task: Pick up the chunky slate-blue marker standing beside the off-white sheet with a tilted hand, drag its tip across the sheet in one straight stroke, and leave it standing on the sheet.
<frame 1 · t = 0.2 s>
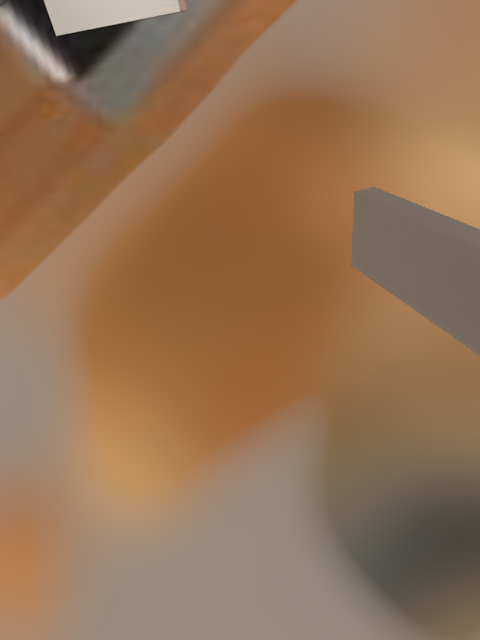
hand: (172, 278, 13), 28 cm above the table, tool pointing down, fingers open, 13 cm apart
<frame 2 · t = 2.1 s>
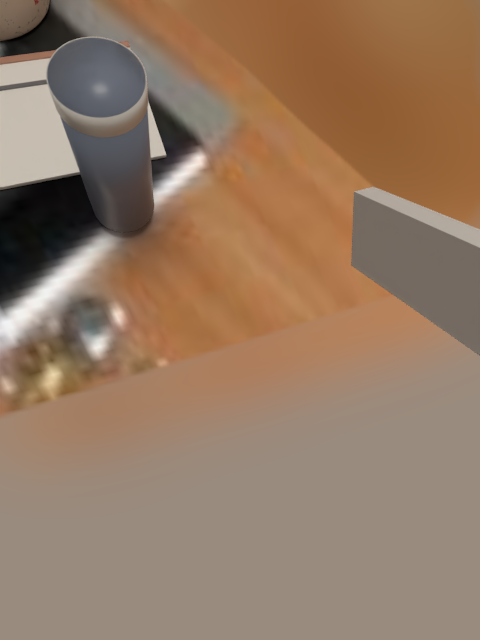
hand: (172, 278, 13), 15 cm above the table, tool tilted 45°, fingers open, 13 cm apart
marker: (125, 211, 29), on the table
sheet: (6, 122, 29), on the table
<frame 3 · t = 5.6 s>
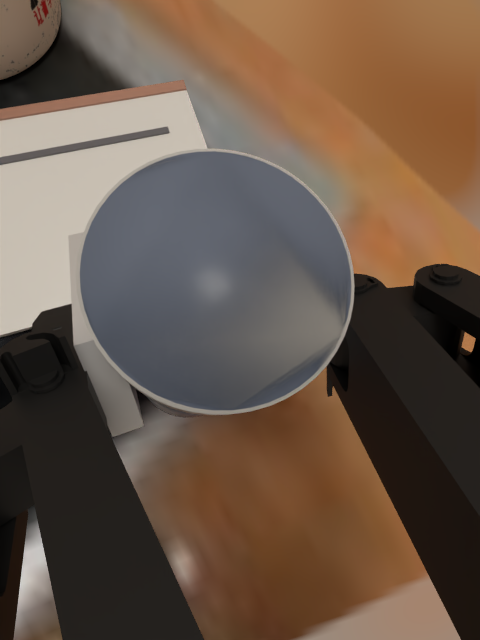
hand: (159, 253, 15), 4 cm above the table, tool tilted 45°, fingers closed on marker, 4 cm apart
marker: (187, 368, 18), on the table, touching gripper
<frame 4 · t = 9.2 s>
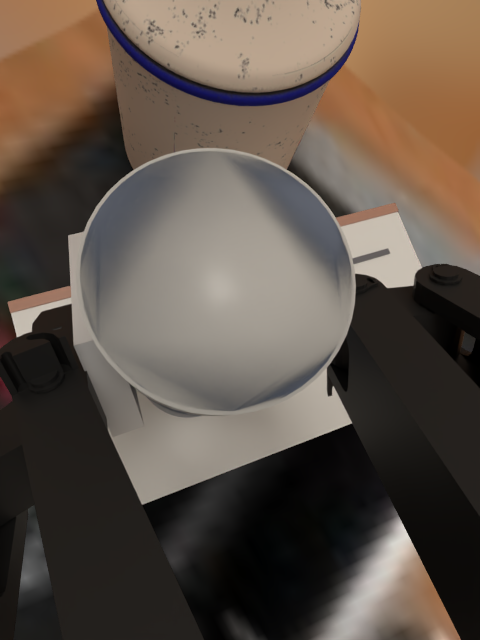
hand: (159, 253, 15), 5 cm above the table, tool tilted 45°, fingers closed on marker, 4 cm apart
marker: (188, 369, 18), point 2 cm above the table, touching gripper
teacup with lid: (196, 124, 23), on the table
sheet: (254, 343, 20), on the table
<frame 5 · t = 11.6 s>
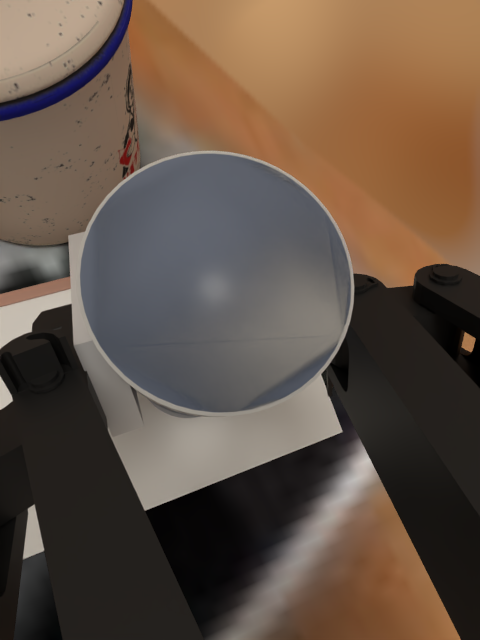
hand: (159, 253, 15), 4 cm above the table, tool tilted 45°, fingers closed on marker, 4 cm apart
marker: (187, 369, 18), resting on sheet, touching gripper
teacup with lid: (33, 137, 20), on the table
sheet: (80, 397, 17), on the table
when the fingers open (4 cm above the table, at t = 12.9 s): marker stays where it is, resting on sheet.
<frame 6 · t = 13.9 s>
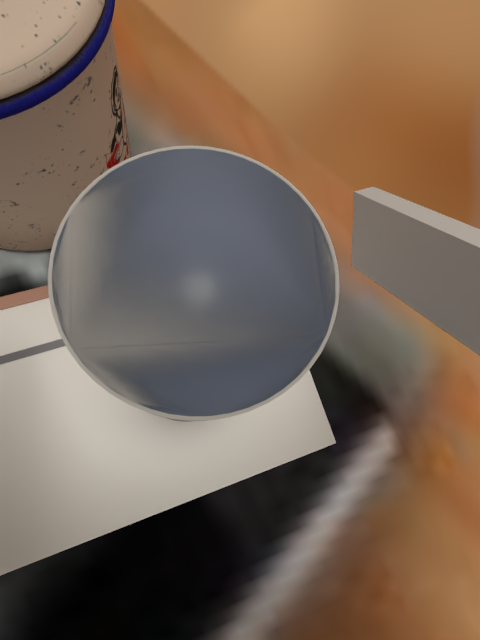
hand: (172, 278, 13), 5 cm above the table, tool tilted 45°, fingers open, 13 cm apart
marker: (186, 372, 17), resting on sheet
teacup with lid: (23, 141, 19), on the table
sheet: (67, 406, 17), on the table
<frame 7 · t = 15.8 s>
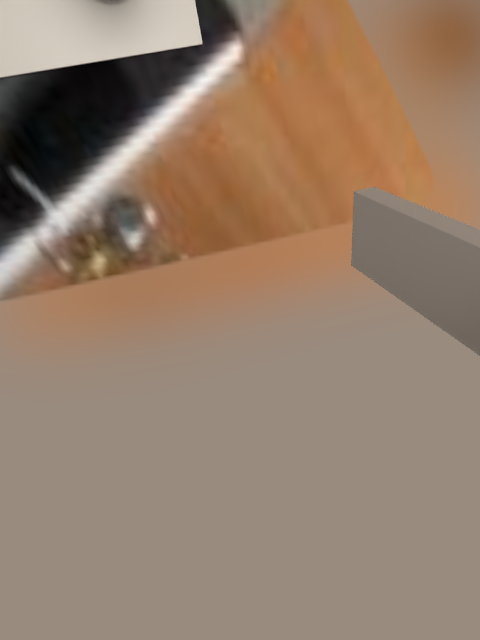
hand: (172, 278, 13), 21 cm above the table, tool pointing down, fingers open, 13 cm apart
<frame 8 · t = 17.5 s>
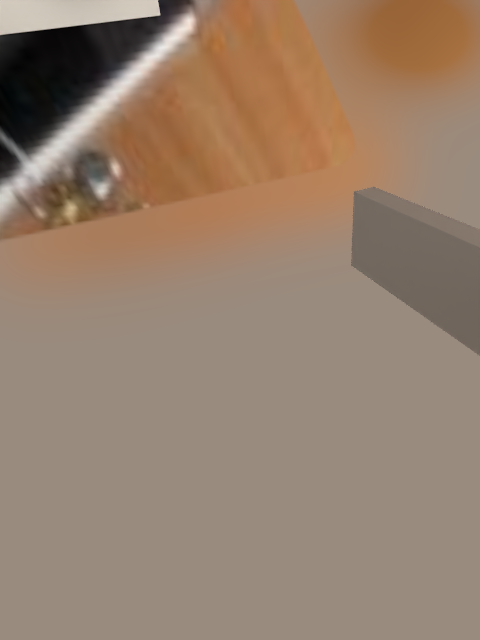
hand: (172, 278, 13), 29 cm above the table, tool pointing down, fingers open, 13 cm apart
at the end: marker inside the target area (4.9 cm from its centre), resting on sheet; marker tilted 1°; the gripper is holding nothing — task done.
